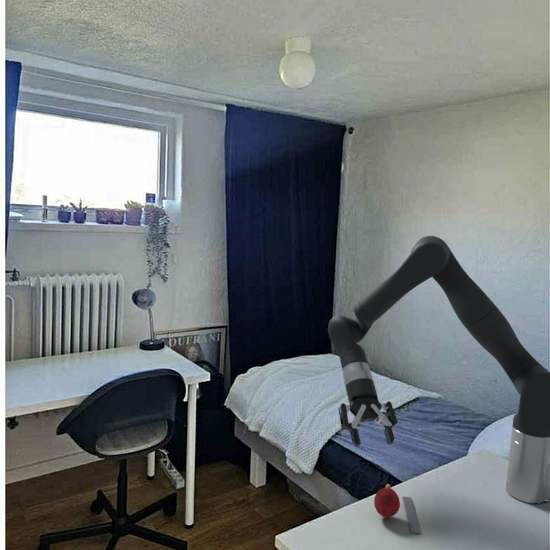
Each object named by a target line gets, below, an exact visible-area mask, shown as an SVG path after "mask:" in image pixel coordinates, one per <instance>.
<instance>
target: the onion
mask: <svg viewBox="0 0 550 550" xmlns="http://www.w3.org/2000/svg"><path fill="white" fill-rule="evenodd" d="M373 501H374V503H373V505H374V508H375V510H376V512H377V513H378V514H379V515H380V516H381V517H382V518H384V519H389V518H392V517H394V516H395V515H396V514H397V513H398V512H399V510H400V507H401V502H400V501H401V500H400V497H399V494H397V492H396V491H395V490H394V489H393V488H392V486H391V484H389V483H388V484H386V485H385V487H383V488H380V489H379V490H378V491H377V492H376V494H375V496H374V499H373Z"/></svg>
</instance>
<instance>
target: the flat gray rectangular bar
mask: <svg viewBox="0 0 550 550" xmlns="http://www.w3.org/2000/svg"><path fill="white" fill-rule="evenodd" d="M402 501H403V504H404V510H405V513H406V518H407V521H408V526H409V530H410V533H411V534H415V535H421V534H422V533H421V529H420V526H419V525H420V524H419V522H418V517H417V515H416V509H415V506H414V504H413V503H414V502H413V500H412V497H411V496H402Z"/></svg>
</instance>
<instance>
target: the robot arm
mask: <svg viewBox="0 0 550 550" xmlns="http://www.w3.org/2000/svg"><path fill="white" fill-rule="evenodd" d="M431 278H432V279H433V280H434V281H435V282H436V283H437V284H438V285H439V286H440V288H441V290H442V291H443V292H444V294H445V296H446V297H447V300H448V301H449V303H450V306H451V307H452V309H453V311H454V313H455V314H456V317H457V319H458V320H459V321H460V323H461V324H462V325H463V326H464V328H465V329H466V330H467V332H468V333H469V334H470V335H471V336H472V337H473V339H474V340H475V341H476V342H477V343H478V344H479V345H480V346H481V347H482V348H483V349H484V350H485V351H487V352H488V353H489V354H490V355H491V356H492V357H493V358H494V359H495V360H496V361H497V362H498V363H499V365H500V366H501V367H502V369H503V371H504V373H506V375H507V377H508V379H509V380H510V381H511V383H512V385H513V386H514V388H515V390H516V392H517V393H518V394H519V403H518V411H517V413H515V415H514V416H513V418H512V427H511V437H510V446H509V454H508V455H509V456H508V463H507V471H506V472H507V473H506V481H505V482H506V484H505V491H506V493H508V495H509V496H511V497H513V498H515V499H516V500H518V501H521V502H524V503H527V504H534V503H538V504H541V503H540V502H543V501H545V500H547V501H549V502H550V371H549V370H548V369H547V368H546V367H544V366H543V365H542V364H541V363H540V362H539V361H537V360H536V358H534V357H533V356H532V354H530V352H529V351H528V350H527V349H526V348H525V347H524V346H523V344H521V341H520V340H519V339H518V337H517V335H516V333H515V331H514V329H513V327H512V326H511V324H510V322H509V321H508V319H507V318H506V317H505V315H504V314H503V313H502V312H501V310H500V309H499V308H498V307H497V306H496V304H495V302H493V300H492V299H491V298H490V297H489V296H488V295H487V294H486V293H485V292H484V290H482V289H481V287H480V286H479V285H478V284H477V283H476V282H475V281H474V280H473V279H472V277H470V276H469V275H468V273H467V272H466V271H465V270H464V268H463V266H462V265H461V264H460V262H459V261H458V260H457V258H456V256H455V255H454V253H453V252H452V250H451V248H450V247H449V245H448V244H447V242H446V241H444V240H443V239H442V238H440V237H438V236H434V235H426V236H423V237H420V238H419V240H417V242H416V243H415V244H414V246H413V247H412V248H411V252H410V254H409V255H408V256H407V257H406V259H405V260H404V261H403V262H402V263H401V265H400V266H399V267H398V268H397V270H395V271H394V272H393V273H392V274H391V275H390V276H389V277H387V278H386V279H384V280H383V281H382V282H380V283H379V284H378V285H376V286H375V287H373V288H372V289H371V290H370V291H369V292H367V294H365V295H364V296H363V297H362V298H361V299H360V300H359V301H358V302H356V303H355V305H354V306H353V314H354V315H355V317H354V318H350V317H347V316H344V315H342V314H341V315H340V314H338V315H337V314H336V315H335V316H332V318H331V319H330V320H329V323H328V325H327V327H328V328H327V332H328V337H329V339H330V341H331V344H332V346H333V347H334V349H335V351H336V353H337V355H338V357H339V360H340V361H339V362H340V365H341V369H342V375H343V376H342V378H343V384H344V387H345V391H346V395H347V400H348V403H349V404H348V405H347V404H346V403H341V404H340V406H339V407H338V409H337V410H338V414H339V421H340V422H339V423H340V428H341V430H344V431H348V432H349V433H350V438H351V443H352V445H354V446H355V447H359V446H361V444H362V443H361V437H360V434H359V433H360V432H359V429H358V428H357V426H358V425H359V423H360V422H361V423H365V422H371V423H372V422H375V423H376V424H377V425H380V427H382V428H383V429H384V430H383V432H384V436H385V440H386V444H387V445H388V446H389V445H390V446H391V445H392V444H393V443H394V441H395V435H394V432H393V428H394V427H395V426H396V425H397V424H398V422H399V421H398V419H397V416H396V413H395V411H394V408H393V407H394V406H393V405H392V404H393V403H392V402H391V401H386V402H385V403H383V402H382V403H381V402H380V400H379V397H378V392H377V389H376V384H375V381H374V378H373V374H372V370H371V368H370V366H369V364H368V360H367V355H366V353H365V349H364V348H363V347H362V346H361V345H360V344H358V343H360V342H362V341H363V339H364V338H365V337H366V335H367V334H368V332H369V331H370V329H371V328H372V326H373V325H374V323H375V322H377V321H378V320H379V319H380V318H381V317H382V316H384V315H385V314H386V313H387V312H388V311H389V310H390V309H391V308H392V307H393V306H394V305H396V304H397V303H398V302H399V301H400V300H401V299H402V298H403V297H405V296H406V295H407V294H408V293H409V292H411V291H412V290H413V289H415V288H416V287H418V286H419V285H421V284H422V283H425V282H426V281H427V280H429V279H431ZM381 410H382V411H383V412H382V411H381ZM349 412H350V413H351V414H352V415H353V418H352V420H351V422H350V421H349V417H348V416H349V415H348V413H349ZM384 413H385V414H384ZM543 503H544V502H543Z"/></svg>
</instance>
